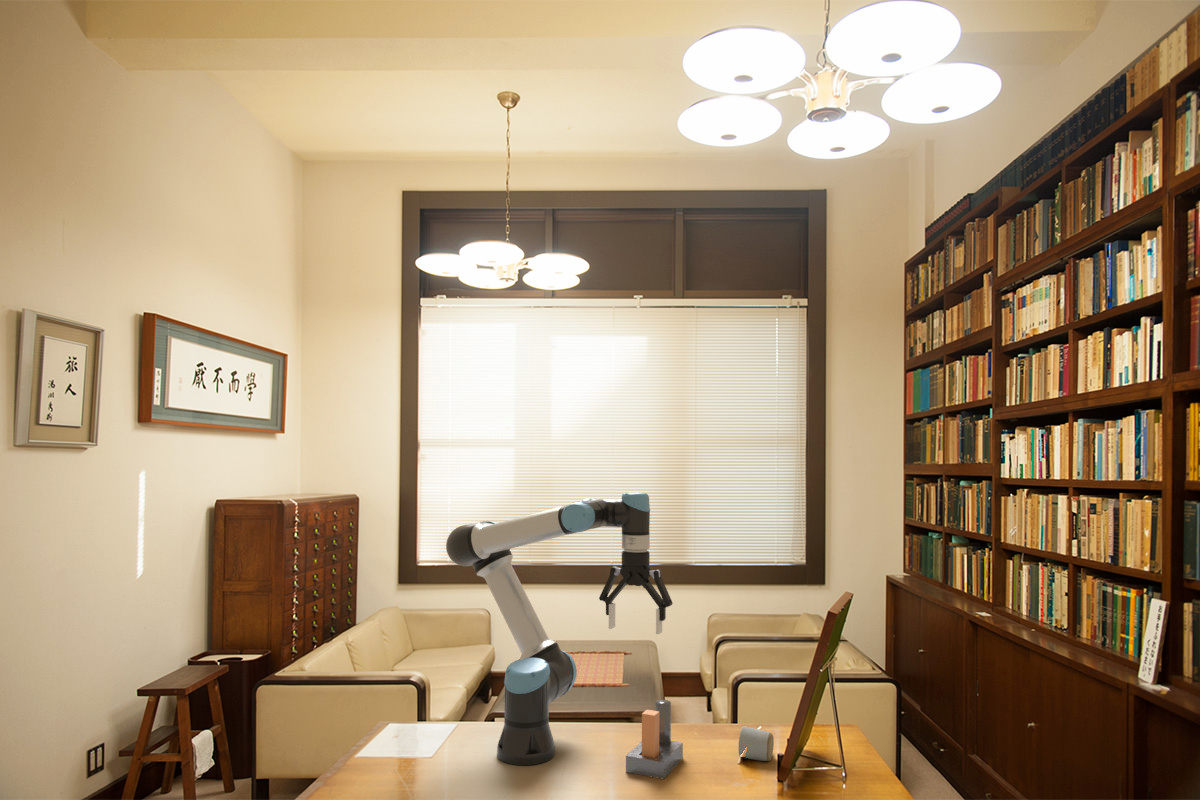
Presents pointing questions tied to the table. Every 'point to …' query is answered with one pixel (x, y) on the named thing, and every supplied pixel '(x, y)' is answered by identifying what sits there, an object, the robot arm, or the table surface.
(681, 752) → the grey socket base
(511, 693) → the robot arm
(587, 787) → the table surface
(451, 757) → the table surface
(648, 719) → the salmon orange square bar
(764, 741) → the grey rounded box
